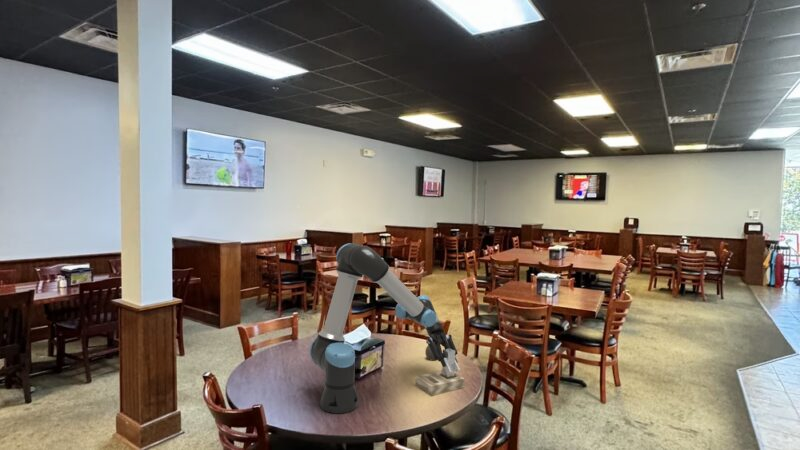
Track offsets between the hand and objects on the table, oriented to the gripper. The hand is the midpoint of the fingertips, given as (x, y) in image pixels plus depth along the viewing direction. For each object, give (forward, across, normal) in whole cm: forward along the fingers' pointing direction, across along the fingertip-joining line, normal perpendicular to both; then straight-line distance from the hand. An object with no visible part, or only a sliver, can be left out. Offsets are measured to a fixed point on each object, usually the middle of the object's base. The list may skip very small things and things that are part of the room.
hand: (453, 371), depth 189 cm
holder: (+2, -5, +8) cm, 9 cm away
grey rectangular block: (0, 0, +5) cm, 5 cm away
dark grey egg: (-18, +11, +28) cm, 35 cm away
